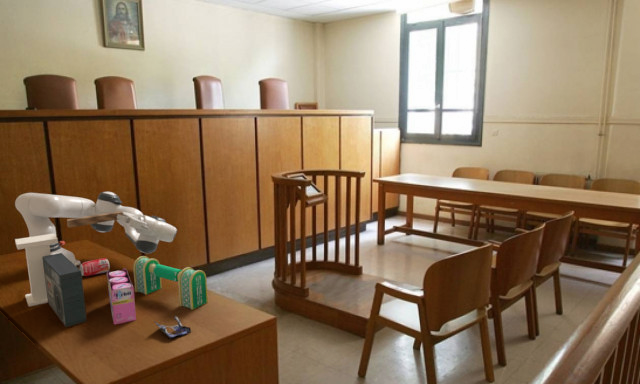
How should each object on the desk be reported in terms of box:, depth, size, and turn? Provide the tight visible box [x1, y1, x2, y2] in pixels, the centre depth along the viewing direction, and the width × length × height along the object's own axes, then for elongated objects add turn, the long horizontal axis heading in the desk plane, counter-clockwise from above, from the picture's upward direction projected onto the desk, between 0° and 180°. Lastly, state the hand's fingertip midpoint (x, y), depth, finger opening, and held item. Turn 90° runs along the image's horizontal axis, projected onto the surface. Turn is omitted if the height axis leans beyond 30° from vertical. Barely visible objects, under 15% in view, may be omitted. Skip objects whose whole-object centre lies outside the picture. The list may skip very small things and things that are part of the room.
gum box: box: [106, 268, 137, 325], centre depth 177 cm, size 24×8×14 cm, turn 29°
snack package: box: [154, 315, 192, 340], centre depth 159 cm, size 12×6×12 cm
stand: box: [14, 234, 59, 307], centre depth 188 cm, size 14×12×26 cm
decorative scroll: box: [132, 255, 209, 311], centre depth 189 cm, size 36×8×15 cm, turn 58°
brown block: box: [66, 211, 123, 229], centre depth 199 cm, size 22×3×3 cm, turn 128°
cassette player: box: [42, 253, 87, 328], centre depth 176 cm, size 29×7×20 cm, turn 42°
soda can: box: [79, 257, 111, 277], centre depth 218 cm, size 7×7×12 cm
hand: (115, 215), depth 203 cm, fingers closed on brown block, 3 cm apart
